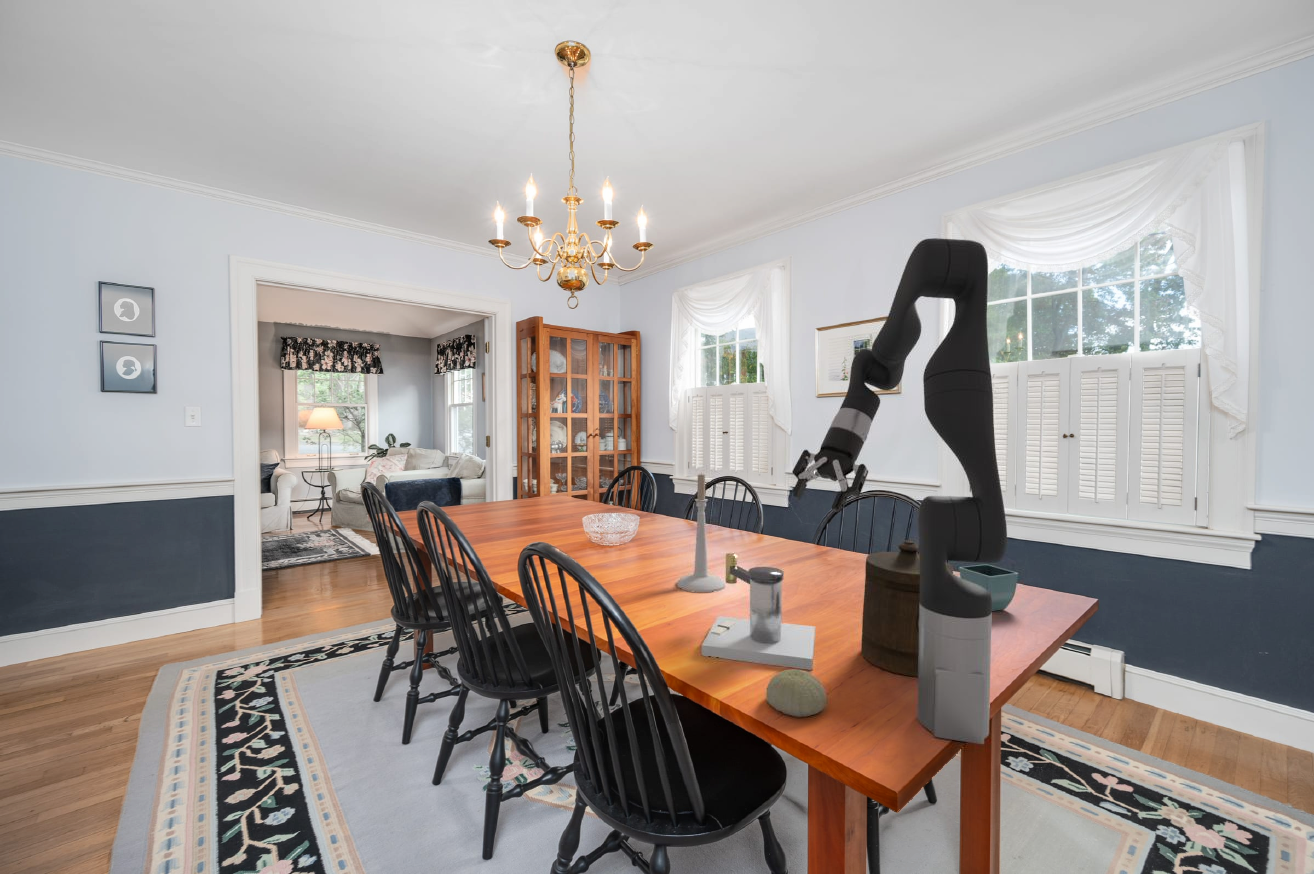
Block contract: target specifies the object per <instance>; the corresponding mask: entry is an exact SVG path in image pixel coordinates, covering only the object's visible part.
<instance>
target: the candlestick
mask: <svg viewBox="0 0 1314 874" xmlns="http://www.w3.org/2000/svg"><path fill="white" fill-rule="evenodd" d="M708 500H709V499H708V498H707V499H706V474H704V473H700V474H699V473H698V474H697V498H695V499H694V501H695V502H696V504H695V505H696V507H697V514H696V515H697V519H696V520H697V521H696V533H695V534H696V536H695V551H694V552H695V556H694V571H693V573H690V574H686V575H683V576H682V577H680V578H679V579H678V580H677V581H676V586H677V588H679V587H680V588H681V589H680V588H679V589H680V590H682V589H684V590H683V591H685V590H687V591H686V592H689V591H694V592H693V593H697V592H709V593H715V592H714V591H716V592H719V590H720V591H721V590H724V589H725V588H724V587H726V581H725V580H723V579H722V578H720V577H719V576H716V575H713V574H710V573H709V570H708V552H707V551H708V550H707V529H706V513H705V509H706V507H707V502H708ZM712 591H713V592H712Z"/></svg>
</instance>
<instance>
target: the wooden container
mask: <svg viewBox="0 0 1314 874" xmlns="http://www.w3.org/2000/svg"><path fill="white" fill-rule="evenodd" d="M898 549H899V550H900V551H880V552H873V553H870V554H868V555H867V556H866V559H865V569H864V570H865V575H864V576H865V577H864V578H865V579H864V590H863V591H864V594H863V595H864V596H863V606H862V623H861V624H862V625H861V626H862V627H861V650H860V651H861V654H862V656H863V657H864V658H865V660H867V661H868V662H869V663H871V664H872V665H874V666H876V667H878V668H880V669H883V670H885V671H888V672H890V673H894V674H898V675H902V676H903V675H904V676H909V677H917V678H918V648H919V597H920V553H918V551H919V544H918V543H916V542H915V541H914V540H910V539H909V540H907V539H906V540H905V539H904V540H903V541H901V542H900V543H898ZM946 569H947V570H948V571H949V572H951V573H952V574H954V567H953V566H952V564H950V563H949V562H947V561H946Z"/></svg>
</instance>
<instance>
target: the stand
mask: <svg viewBox="0 0 1314 874" xmlns="http://www.w3.org/2000/svg"><path fill="white" fill-rule="evenodd" d="M815 641H816V626H814V625H813V626H812V625H803V624H802V625H801V624H795V623H784V622H782V623H781V639H780V640H779V641H776V642H761V641H757V640H754V639H752V638H751V637H750V618H749V619H748V618H741V617H740V618H738V617H730V616H720V615H718V616H717V617H716V619H715V621H714V623H713V625H712V627H711V628H710V630H709V632H708V633H707V635H706V636H705V638H704V640H703V642H702V644H701V656H702V655H703V656H702V657H708V656H711V657H710V658H716V657H719V658H718V659H725V660H732V661H733V660H734V661H740V662H748V663H755V664H760V665H761V664H764V665H770V666H778V667H786V668H791V669H792V668H794V669H799V670H807V671H813V668H814V667H813V666H814V656H815V654H814V653H815Z"/></svg>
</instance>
